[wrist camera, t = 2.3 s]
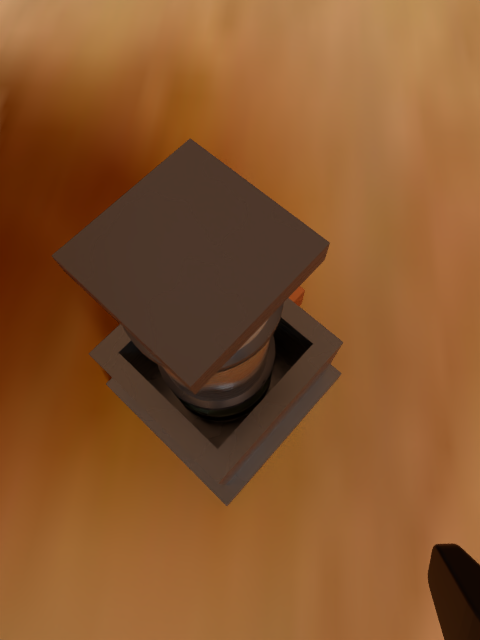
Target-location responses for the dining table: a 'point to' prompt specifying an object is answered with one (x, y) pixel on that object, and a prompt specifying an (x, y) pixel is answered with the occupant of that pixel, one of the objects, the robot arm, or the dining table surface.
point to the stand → (237, 435)
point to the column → (197, 277)
